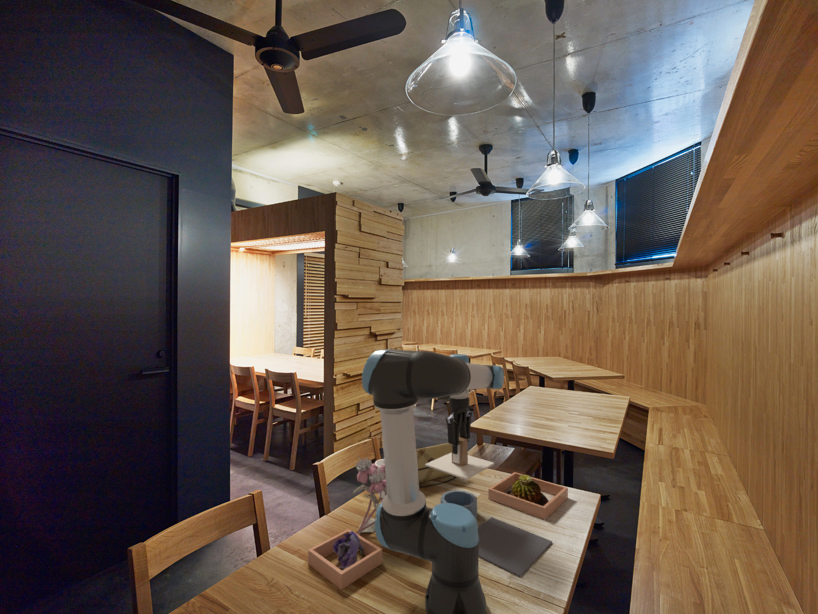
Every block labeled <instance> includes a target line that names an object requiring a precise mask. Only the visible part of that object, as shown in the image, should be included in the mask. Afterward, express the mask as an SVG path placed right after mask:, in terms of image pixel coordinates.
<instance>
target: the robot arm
mask: <svg viewBox="0 0 818 614" xmlns="http://www.w3.org/2000/svg"><path fill="white" fill-rule="evenodd" d="M504 383H505V373H504V369H503V366H500V365H494V364H492V365H490V364H489V365H488V364H480V363H471V362H470V358H469V356H468V355H467V354H461V353H460V354H459V353H457V354H456V353H453V354H450V355H446V354H443V353H438V352H434V351H429V350H428V351H426V350H408V349H407V350H406V349H393V348H390V349H378V350H375V351H373V352H372V353H371V354H370V355H369V356H368V358H367V359H366V362H365V363H364V366H363V369H362V373H361V385H362V388H363V390H364V392H365V393H367V394H368V395H370V396H372V400H373V402H372V403H373V406H374V407H375V408H376V409H377V410H379V412H380V413H379V414H380V424H381V435H382V436H381V437H382V449H383V459H384V463H385V475H386V487H387V495H386V496H385V497H384V498H382V499H383V501H382V500H381V501H382V502H381V501H380V502H379V504H380V505H379V507H378V509H377V512H376V511H375V515H376V516H377V517H376V518H375V531H374V532H375V536H376V539H377V541H378V542H379V544H380V545H381V546H383V547H384V548H386V549H389V550H390V551H393V552H396V553H401V554H405V555H408V556H412V557H415V558H418V559H421V560H425V561H427V562H430V563H431V576H430V579H429V580H428V584H427V588H426V591H425V594H424V595H425V596H424V607H425V608H424V609H425V612H426V614H487V601H486V600H487V599H486V596H485V593H484V590H483V588H482V584H481V580H480V577H479V567H480V566H479V557H478V542H479V534H478V527H479V526H478V520H477V519H476V518H475V517H474V516H473V514H472V513H471V512H470V511H469V510H468V509H466V508H464V507H462V506H460V505H457V504H453V503H447V504H445V503H442V504H441V503H438V504H436V505H435V506H434V507H433V508H430V507H427V501H426V496H425V494H424V493H423V492H422V491H421V490H420V488H419V486H420V483H419V479H418V466H417V452H416V449H417V442H416V441H417V440H416V428H415V426H416V425H415V413H414V412H415V411H414V407H415V406H416V405H417V404H418V403H419V400H420V399H421V400H433V399H434V400H435V399H441V398H447V397H448V407H449V408H450V415H449V416H448V417H446V418H445V422H446V427H447V428H446V429H447V430H446V431H447V443H449V444H452V452H453V462H455V463H458V464H459V463H460V445H458V444H459V437H461V438H465V439H468V443H469V442H470V439H471V426H472V425H471V424H472V423H471V421H472V415H473V412H472V411H468V409H469V408H470V398H469V396H470V390H478V389H490V390H491V389H492V390H500V389H501V390H502V388H503V387H504Z"/></svg>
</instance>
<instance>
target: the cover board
mask: <svg viewBox="0 0 818 614" xmlns="http://www.w3.org/2000/svg"><path fill="white" fill-rule="evenodd" d="M468 440H469V439H465V438H461V437H460V436H459V444H458V445H460V463H459V464H458V463H455V462H453V452H451V453H449V454H447V455H445V456H442V457H440V458H438V459H436V460H433V461H431V462H429V463H427V464H425V466H427V467H430V468H433V469H436V470H439V471H441V472H444V473H447V474H450V475H449V476H453V477H454V476H456V478H459V479H462V480H465V481H467V480H469V479H471V478H472V477H474V476H476V475H478V474H479V473H481V472H483V471H485V470H487V469H488V468H491V467H493V466H494V465H495V462H493V461H489V460H485V459H482V458H481V457H477V456H476V457H475V456H472V455H470V454H469V453H468V452H469V450H468V447H469V446H468V445H469V444H468V443H469V442H468Z"/></svg>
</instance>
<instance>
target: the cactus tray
mask: <svg viewBox="0 0 818 614" xmlns="http://www.w3.org/2000/svg"><path fill="white" fill-rule="evenodd" d="M521 475H524V473H523V474H522V473H518V472H516V471H513V472H512V473H511V474H509V475H508V476H506V477H504V478H503V479H502V480H499V481H498V482H497V483H495V484H494V485H492V486H490V487H489V488H488V491H487V492H488V494H487V495H488V500H491V501H493V502H496V503H498V504H501V505H503V506H506V507H509V508H512V509H514V510H517V511H520V512H522V513H525V514H529V515H532V516H534V517H537V518H540V519H542V520H546V519H547V518H549V516H551V515H552V514H553V513H554V511H556V510H557V509H559V507H560V506H561V505H562V504H563V503H564V502H565V501H567V499H568V498H569V491H568V490H569V488H568V487H566V486H563V485H559V484H556V483H553V482H550V481H545V480H543V479H540V478H536V477H533V476H530V477H531V478H533V479H532V481H535V482H536V483H537V484H538V485H539V486H540V488H541V492H543V493H547V494H550V495H554V496H553V497H552V498H551V499H550V500H548V503H547V504H545V505H544V506H541V505H538V504H535V503H532V502H529V501H526V500H523V499H520V498H517V497H515V496H512V495H509V494H506V493H507V492H504V491H506V490H507V489H509V488H510V487H512V486H513V483H515V482H516V481H518V480H520V479H519V477H520V476H521Z"/></svg>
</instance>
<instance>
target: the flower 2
mask: <svg viewBox="0 0 818 614" xmlns="http://www.w3.org/2000/svg"><path fill="white" fill-rule="evenodd" d="M358 459H359V460H358V461H357V462H355V468H356V469H357V471H358V473H357V475H356V480H357V482H360V483H361V485H360V486H359V487H357V488H356V489H354V490H353V493H352V495H354V494H355V493H358V492H361V491H362V490H365V491H366V492H367V493H368V494H365V493H364V495H363V498H365V497H366V498H367V499H369V503H368V507H367V511H366V512H365V515H364V516H363V519H362V521H361V523H360V525H359V527H358V530H356V531H354V533H356V534H358V535H359V534H361V533H374V532H375V519H376V518H377V516H376V514H375V513H376V512H377V509H378V507H379V505H380V503H381V502H382V501H383V498H381V492H382V491H384V492H385V496H386V495H387V487H386V480H384V479H386V475H385V465H382V466H381V467H380V469H384V470H379V471H377V469H378V467H377V466H376V465H375V463H372V460H370V459H369V458H368V456H367V457H366V458H363V459H362V458H361V457H360V456H358ZM368 480H369V481H370V483H371V484H370V486H367V485H366V484H368ZM378 493H380V497H379V498H377V496H376V494H378ZM372 503H373V504H372ZM371 507H374V508H373V510H372V511H371V512H370V510H371ZM369 512H370V514H369ZM374 514H375V515H374ZM373 515H374V518H372V517H373Z"/></svg>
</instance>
